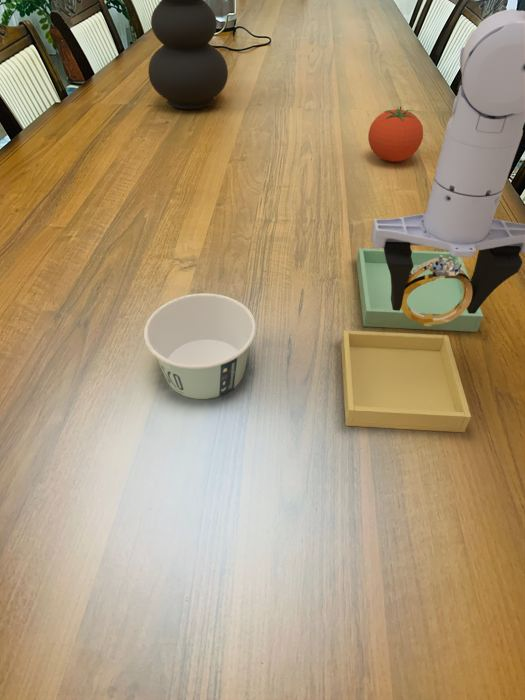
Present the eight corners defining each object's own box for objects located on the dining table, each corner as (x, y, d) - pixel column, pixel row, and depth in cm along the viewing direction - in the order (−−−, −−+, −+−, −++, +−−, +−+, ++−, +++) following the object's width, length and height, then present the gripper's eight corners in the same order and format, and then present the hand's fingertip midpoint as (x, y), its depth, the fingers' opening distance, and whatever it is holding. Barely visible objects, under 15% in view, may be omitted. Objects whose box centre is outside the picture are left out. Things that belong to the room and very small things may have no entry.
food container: (277, 366, 59) (279, 323, 55) (203, 427, 53) (197, 385, 48) (206, 321, 65) (202, 279, 61) (131, 372, 59) (120, 329, 54)
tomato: (354, 154, 103) (361, 102, 96) (395, 145, 106) (404, 94, 99) (386, 174, 96) (395, 120, 89) (428, 164, 99) (440, 110, 93)
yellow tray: (442, 351, 61) (448, 335, 60) (464, 432, 53) (471, 416, 51) (340, 346, 62) (343, 330, 60) (345, 425, 53) (348, 409, 51)
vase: (220, 119, 117) (209, -81, 92) (142, 114, 119) (112, -83, 94) (235, 93, 130) (229, -88, 105) (165, 89, 132) (144, -89, 107)
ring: (458, 317, 55) (480, 254, 50) (462, 337, 53) (485, 273, 47) (393, 310, 56) (407, 248, 50) (394, 330, 54) (409, 266, 48)
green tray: (454, 267, 74) (459, 252, 72) (477, 332, 64) (483, 316, 62) (356, 263, 75) (358, 248, 73) (363, 326, 65) (366, 310, 63)
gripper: (388, 200, 41) (364, 328, 50) (574, 206, 40) (514, 334, 50) (379, 163, 46) (359, 285, 55) (543, 167, 45) (495, 290, 55)
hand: (431, 306), depth 53 cm, fingers closed on ring, 7 cm apart
